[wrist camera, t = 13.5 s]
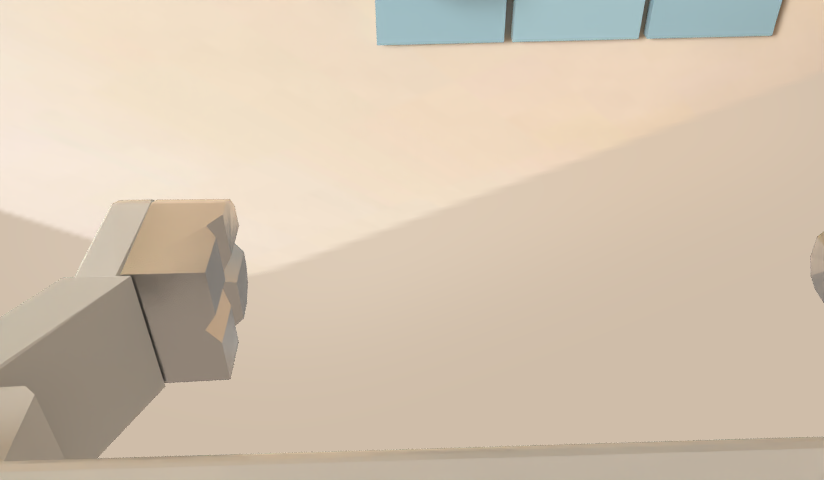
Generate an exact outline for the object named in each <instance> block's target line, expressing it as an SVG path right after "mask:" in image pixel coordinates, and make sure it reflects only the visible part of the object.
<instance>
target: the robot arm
mask: <svg viewBox="0 0 824 480" xmlns="http://www.w3.org/2000/svg"><path fill="white" fill-rule="evenodd" d="M238 227H239V224H238V220H237V215H236V211H235V206H234V204H233V203H232V201H231V200H230V199H190V200H156V201H154V200H121V201H117V202H115V203H113V204H112V205H111V206H110V208H109V210H108V212H107V214H106V216H105V218H104V220H103V222H102V224H101V226H100V228H99V230H98V232H97V234H96V236H95V238H94V239H93V241H92V243H91V245H90V247H89V249H88V251H87V253H86V255H85V257H84V259H83V261H82V263H81V265H80V267H79V269H78V271H77V273H76V275H75V277H67V278H66V277H64V278H61V279H60V280H58V281H57V282H55V283H53V284H52V285H50V286H49V287H47V288H46V289H44V290H42V291H41V292H39V293H38V294H36V295H35V296H33V297H31V298H30V299H28V300H27V301H25V302H23V303H22V304H20V305H19V306H17V307H16V308H14V309H13V310H11V311H9V312H8V313H6V314H5V315H3V316H1V317H0V480H824V437H796V438H795V437H794V438H760V439H727V440H726V439H725V440H696V441H695V440H693V441H663V442H662V441H661V442H628V443H596V444H565V445H532V446H502V447H501V446H499V447H468V448H467V447H466V448H435V449H402V450H401V449H399V450H367V451H366V450H365V451H332V452H299V453H265V454H231V455H197V456H165V457H134V458H133V457H132V458H131V457H130V458H98V457H99V456H100V454H101V453H102V452H103V451H104V450H105V449H106V448H107V447H108V446H109V445H110V444H111V443H112V442H113V441H114V440H115V439H116V438H117V437H118V436H119V435H120V434H121V432H122V431H123V430H124V429H125V428H126V427H127V426H128V425H129V424H130V423H131V422H132V421H133V420H134V419H135V417H137V416H138V415H139V414H140V412H141V411H142V410H143V409H144V408H145V407H146V406H147V405H148V404H149V403H150V402H151V401H152V400H153V399H154V398H155V397H156V396H157V395H158V394H159V393H160V391H161V390H162V389H163V388H164V387H165V384H164V383H172V382H173V383H174V382H192V381H210V380H229V379H231V374H232V370H233V365H234V361H235V356H236V352H237V347H238V343H239V342H238V337H237V332H236V327H235V326H236V325H237V324H238V323H239V322H240V321H241V320H242V319H244V314H245V309H246V304H247V288H248V280H247V268H246V261H245V256H244V252H243V251H242V250H241V249H240V248H239V247H238V246H237V245H236V244H235V239H236V235H237V231H238ZM810 257H811V258H810V260H811V261H810V262H811V278H812V281H813V284H814V288H815V290H816V291H817V293H818V294H819V296H820V298H821V299H822V301H823V302H824V232H823V233H821V234H820V235H819V236H818V237H817V239H816V242H815V245H814V248H813V251H812V253H811V256H810Z"/></svg>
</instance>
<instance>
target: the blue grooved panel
mask: <svg viewBox="0 0 824 480" xmlns="http://www.w3.org/2000/svg"><path fill="white" fill-rule="evenodd" d="M506 2H507V0H375V6H376V29H377V45H408V44H449V43H490V42H504V32H505V17H506ZM781 3H782V0H650V1H649V7H648V12H647V17H646V23H645V28H644V35H645V37H646V38H647V39H653V38H693V37H734V36H772V34H773V30H774V27H775V23H776V20H777V17H778V13H779V10H780V6H781ZM644 5H645V0H513V13H512V27H511V39H512V42H530V41H571V40H612V39H638V38H639V32H640V27H641V21H642V16H643V10H644Z"/></svg>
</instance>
